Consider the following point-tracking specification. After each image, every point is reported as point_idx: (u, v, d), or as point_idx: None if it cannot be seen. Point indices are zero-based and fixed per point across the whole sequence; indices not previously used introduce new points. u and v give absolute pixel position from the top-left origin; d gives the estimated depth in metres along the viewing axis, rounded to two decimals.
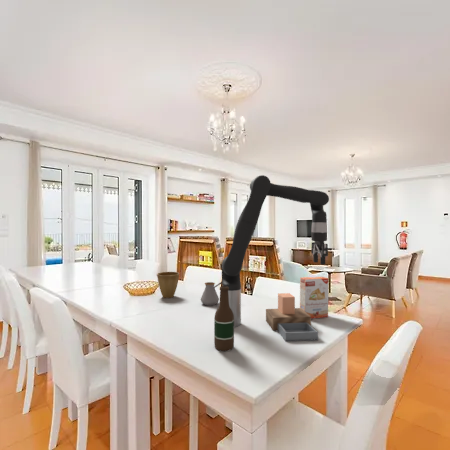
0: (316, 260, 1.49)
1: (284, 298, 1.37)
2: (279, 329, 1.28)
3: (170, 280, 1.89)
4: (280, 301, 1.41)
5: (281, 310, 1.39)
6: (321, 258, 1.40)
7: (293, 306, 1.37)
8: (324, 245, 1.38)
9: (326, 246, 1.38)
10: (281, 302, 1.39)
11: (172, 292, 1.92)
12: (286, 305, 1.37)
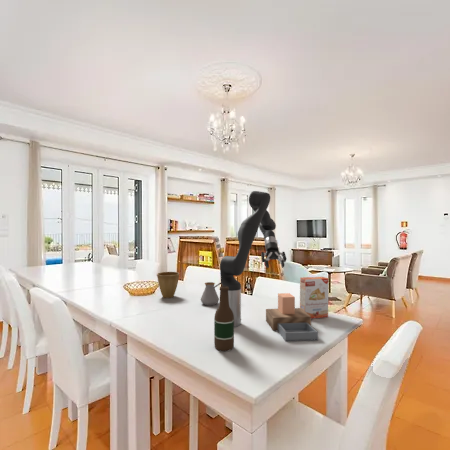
0: None
1: (284, 298, 1.37)
2: (279, 329, 1.28)
3: (170, 280, 1.89)
4: (280, 301, 1.41)
5: (281, 310, 1.39)
6: (282, 261, 1.65)
7: (293, 306, 1.37)
8: None
9: None
10: (281, 302, 1.39)
11: (172, 292, 1.92)
12: (286, 305, 1.37)
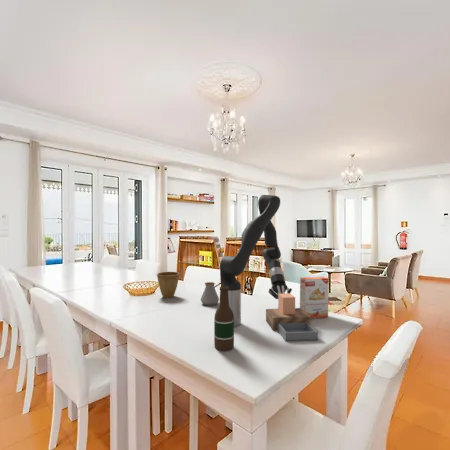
0: None
1: (284, 298, 1.36)
2: (279, 329, 1.28)
3: (170, 280, 1.89)
4: (280, 302, 1.41)
5: (281, 310, 1.38)
6: None
7: (293, 306, 1.37)
8: None
9: (290, 292, 1.51)
10: (281, 302, 1.38)
11: (172, 292, 1.92)
12: (287, 305, 1.36)
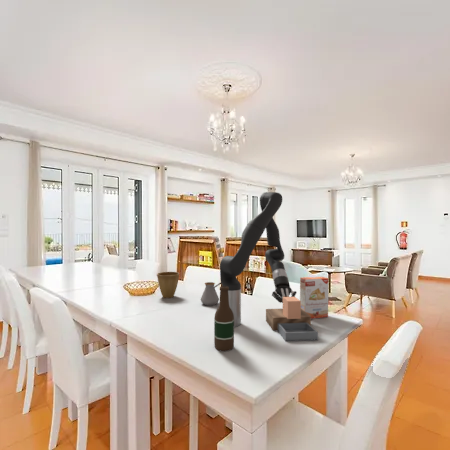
0: None
1: (289, 302, 1.29)
2: (279, 329, 1.28)
3: (170, 280, 1.89)
4: (284, 305, 1.34)
5: (286, 315, 1.31)
6: None
7: (299, 310, 1.30)
8: (295, 294, 1.44)
9: None
10: (286, 306, 1.31)
11: (172, 292, 1.92)
12: (292, 309, 1.29)
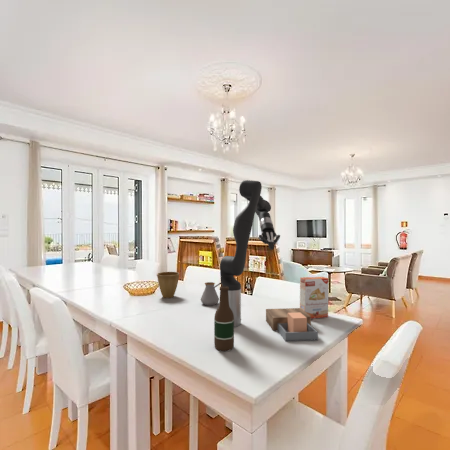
0: None
1: None
2: (279, 329, 1.28)
3: (170, 280, 1.89)
4: (290, 324, 1.25)
5: (288, 327, 1.29)
6: (272, 243, 1.58)
7: None
8: (279, 237, 1.63)
9: (278, 238, 1.63)
10: (291, 330, 1.25)
11: (172, 292, 1.92)
12: None
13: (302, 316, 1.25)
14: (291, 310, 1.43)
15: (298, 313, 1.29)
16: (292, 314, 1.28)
